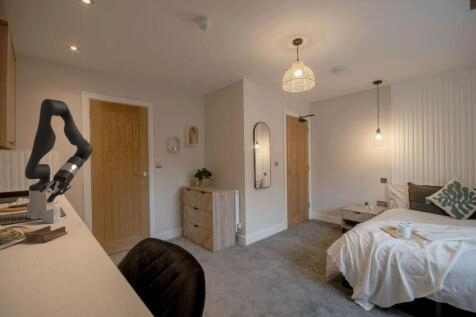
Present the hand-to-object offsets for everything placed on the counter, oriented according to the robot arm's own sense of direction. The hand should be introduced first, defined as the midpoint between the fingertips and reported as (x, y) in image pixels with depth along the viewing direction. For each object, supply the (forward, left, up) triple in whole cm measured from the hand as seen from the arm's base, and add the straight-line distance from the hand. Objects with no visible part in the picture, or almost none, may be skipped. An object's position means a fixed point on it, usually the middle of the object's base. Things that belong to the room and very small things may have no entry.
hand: (44, 201), depth 101 cm
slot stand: (0, +1, -18) cm, 18 cm away
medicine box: (-16, +26, -18) cm, 35 cm away
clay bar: (0, +1, -4) cm, 4 cm away
